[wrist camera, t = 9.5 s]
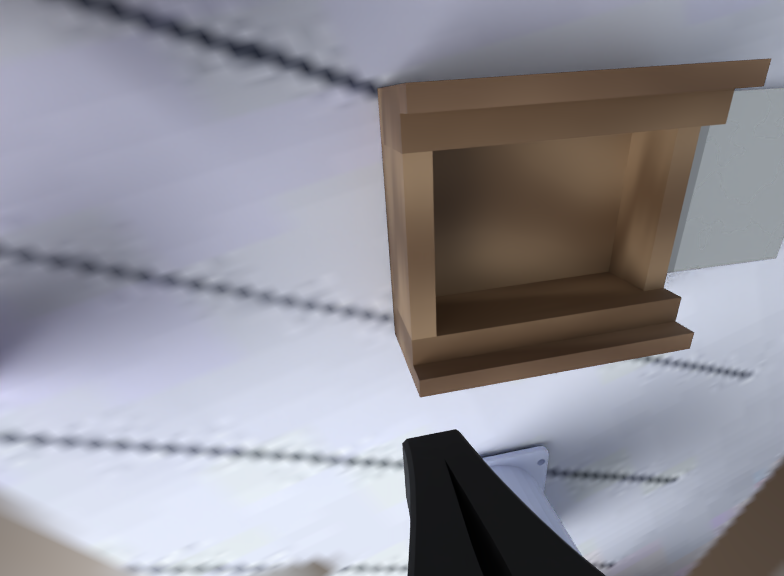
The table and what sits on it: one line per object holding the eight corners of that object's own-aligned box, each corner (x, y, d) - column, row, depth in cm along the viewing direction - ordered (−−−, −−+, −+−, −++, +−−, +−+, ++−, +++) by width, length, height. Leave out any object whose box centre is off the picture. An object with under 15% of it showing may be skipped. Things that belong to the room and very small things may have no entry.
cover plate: (758, 252, 24) (805, 267, 21) (609, 271, 22) (644, 290, 20) (814, 85, 20) (878, 83, 18) (642, 96, 19) (687, 94, 16)
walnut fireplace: (612, 299, 22) (689, 348, 18) (395, 333, 21) (420, 397, 16) (653, 69, 18) (771, 58, 13) (377, 88, 16) (406, 82, 11)
